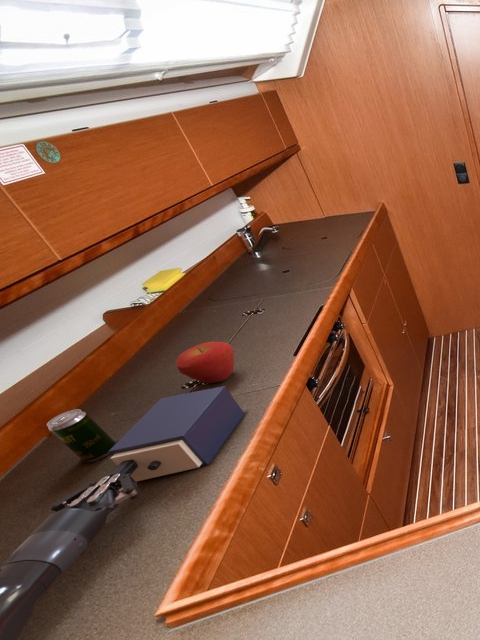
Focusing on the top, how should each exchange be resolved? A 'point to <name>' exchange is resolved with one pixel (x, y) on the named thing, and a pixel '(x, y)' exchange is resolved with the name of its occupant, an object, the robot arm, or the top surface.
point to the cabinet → (186, 423)
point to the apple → (207, 362)
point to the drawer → (159, 459)
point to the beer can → (81, 435)
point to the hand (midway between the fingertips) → (130, 462)
